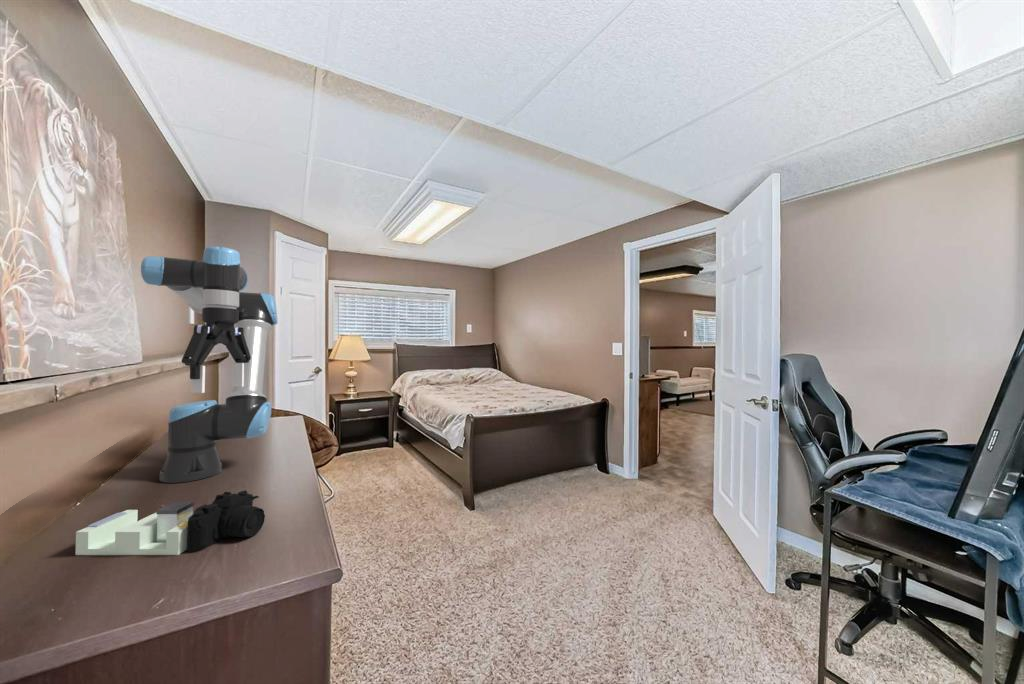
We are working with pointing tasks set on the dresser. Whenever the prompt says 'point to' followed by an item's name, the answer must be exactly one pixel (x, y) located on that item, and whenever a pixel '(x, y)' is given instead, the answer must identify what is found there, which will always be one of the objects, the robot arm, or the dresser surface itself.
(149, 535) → the socket block
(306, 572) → the dresser surface
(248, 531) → the film camera
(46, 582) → the dresser surface
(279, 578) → the dresser surface
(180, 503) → the plug
